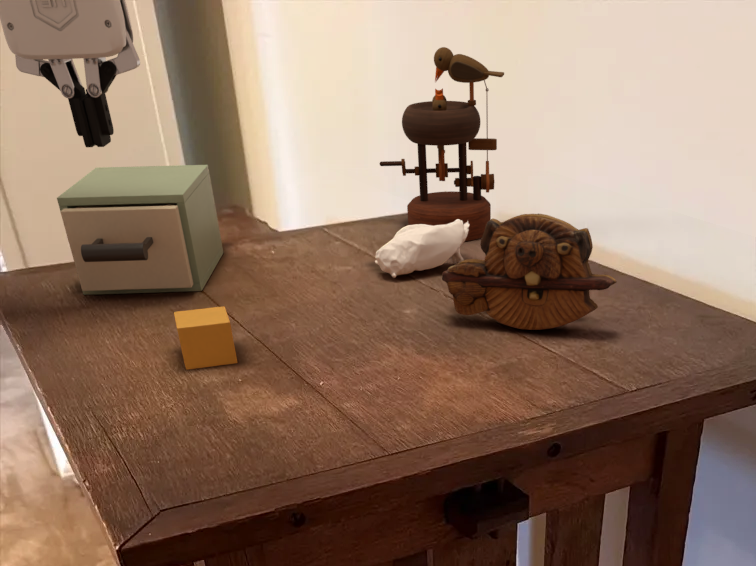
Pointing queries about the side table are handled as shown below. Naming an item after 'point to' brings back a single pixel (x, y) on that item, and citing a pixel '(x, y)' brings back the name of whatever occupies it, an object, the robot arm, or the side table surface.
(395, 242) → the white lumpy oblong piece
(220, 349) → the block
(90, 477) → the side table surface
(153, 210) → the drawer
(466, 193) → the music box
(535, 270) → the wooden carving
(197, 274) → the cabinet
